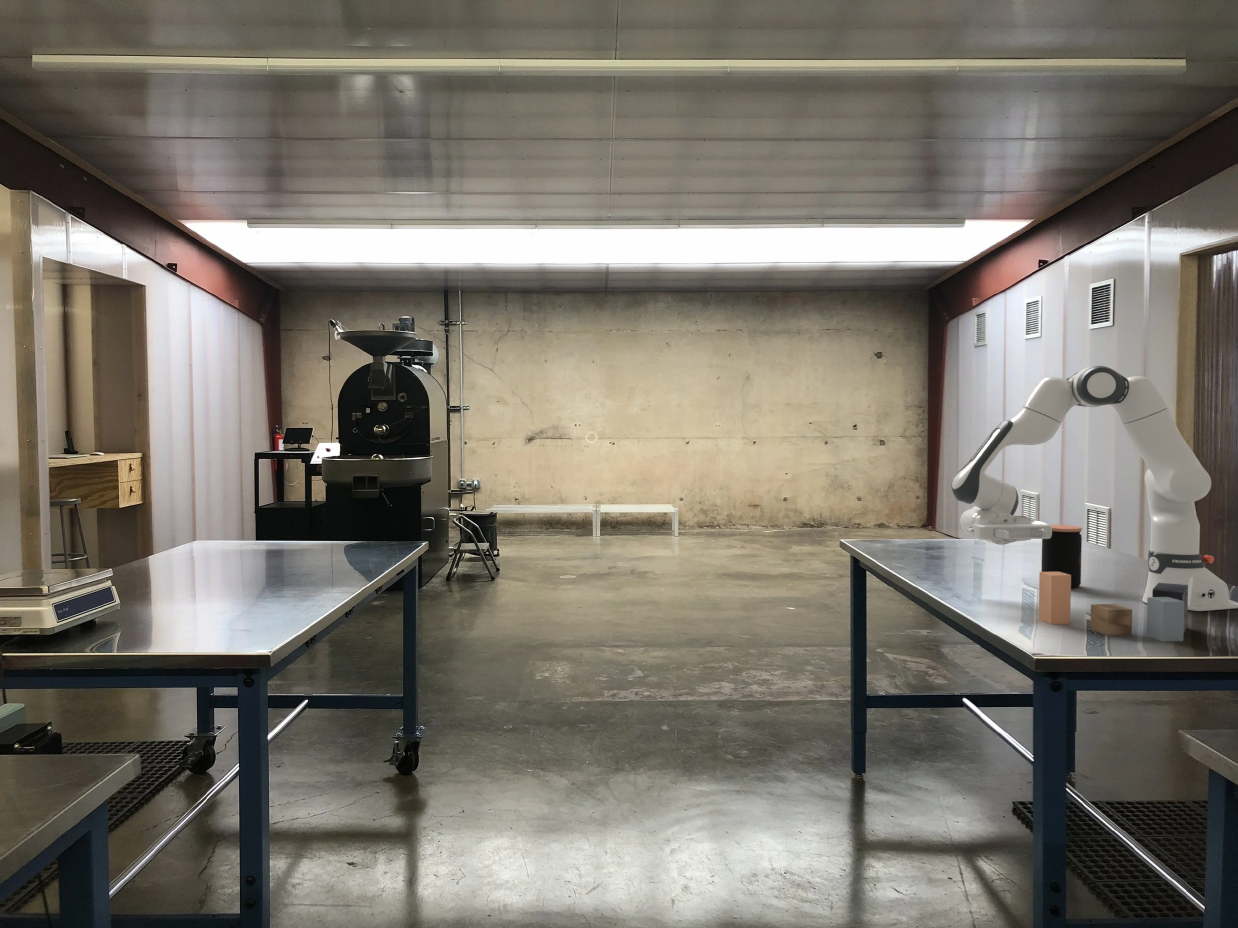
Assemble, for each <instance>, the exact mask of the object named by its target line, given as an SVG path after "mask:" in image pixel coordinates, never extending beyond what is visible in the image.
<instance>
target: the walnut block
mask: <svg viewBox="0 0 1238 928" xmlns="http://www.w3.org/2000/svg"><path fill="white" fill-rule="evenodd" d="M1090 630H1091V631H1092V630H1093V631H1094V632H1097V633H1100V634H1103V635H1105V636H1129V635H1133V609H1132V608H1129V607H1126V606H1123V605H1119V604H1116V603H1102V604H1101V603H1100V604H1099V603H1098V604H1097V603H1096V604H1095V603H1094V604H1090Z"/></svg>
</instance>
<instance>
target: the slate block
mask: <svg viewBox="0 0 1238 928" xmlns="http://www.w3.org/2000/svg"><path fill="white" fill-rule="evenodd" d="M1146 604H1147V606H1146V607H1147V608H1146V637H1148V638H1151V639H1154V640H1158V641H1159V642H1163V643H1164V642H1165V643H1166V642H1184V635H1185V633H1184V601H1181V600H1177V599H1174V598H1170V597H1147V603H1146Z"/></svg>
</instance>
